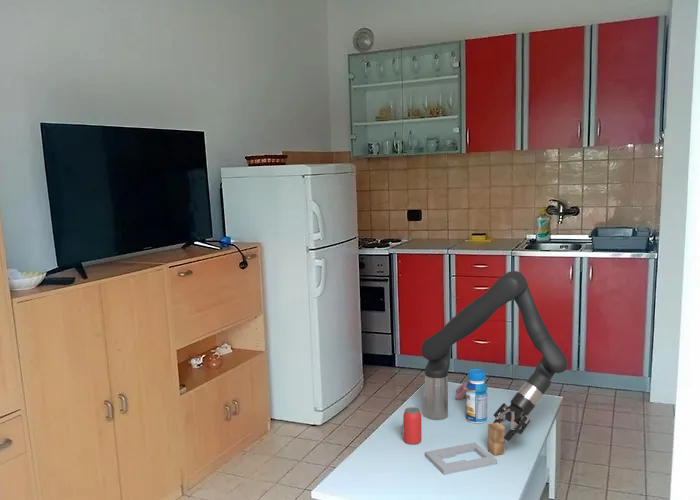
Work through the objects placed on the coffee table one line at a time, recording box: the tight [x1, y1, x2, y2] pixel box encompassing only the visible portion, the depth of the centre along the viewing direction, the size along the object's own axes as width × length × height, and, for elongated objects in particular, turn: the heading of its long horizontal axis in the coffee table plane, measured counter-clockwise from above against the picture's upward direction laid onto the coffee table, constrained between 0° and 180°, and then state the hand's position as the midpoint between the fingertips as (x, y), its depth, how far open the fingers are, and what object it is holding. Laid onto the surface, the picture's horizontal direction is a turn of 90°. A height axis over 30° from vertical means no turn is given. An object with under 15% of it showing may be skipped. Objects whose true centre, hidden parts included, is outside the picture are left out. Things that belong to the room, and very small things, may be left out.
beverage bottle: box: [465, 368, 489, 425], centre depth 230 cm, size 8×8×20 cm
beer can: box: [402, 406, 422, 445], centre depth 213 cm, size 7×7×12 cm
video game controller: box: [455, 382, 468, 401], centre depth 256 cm, size 10×5×7 cm, turn 169°
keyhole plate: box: [424, 442, 498, 476], centre depth 199 cm, size 20×14×2 cm
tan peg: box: [487, 422, 506, 457], centre depth 203 cm, size 4×4×10 cm
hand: (498, 434), depth 203 cm, fingers open, 8 cm apart
